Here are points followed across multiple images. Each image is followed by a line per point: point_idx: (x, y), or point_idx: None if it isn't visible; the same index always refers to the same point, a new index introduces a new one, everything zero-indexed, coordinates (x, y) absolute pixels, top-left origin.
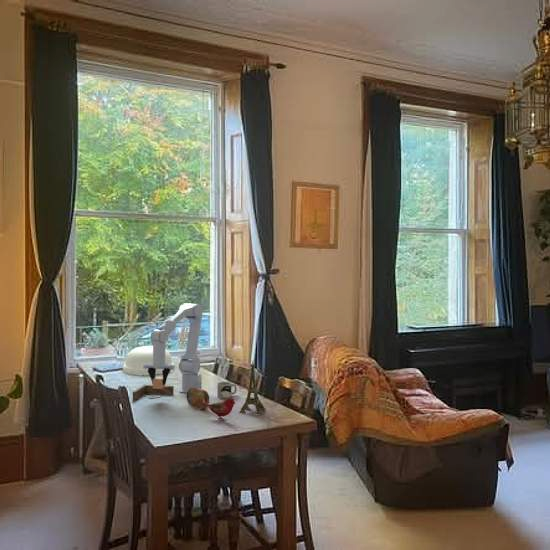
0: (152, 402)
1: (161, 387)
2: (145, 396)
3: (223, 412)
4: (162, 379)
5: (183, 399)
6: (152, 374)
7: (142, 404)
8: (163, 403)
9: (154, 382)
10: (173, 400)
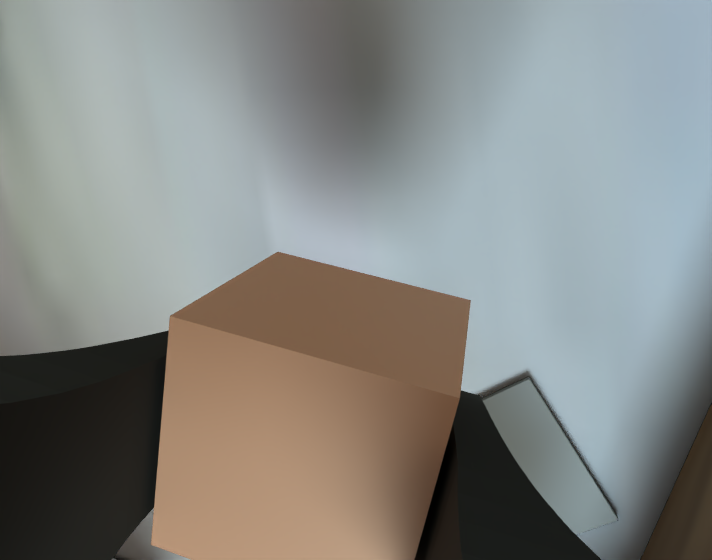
0: (474, 191)
1: (278, 262)
2: (601, 494)
3: None
4: (175, 345)
5: (116, 314)
6: (464, 523)
7: (625, 72)
8: (313, 131)
9: (415, 338)
10: (215, 278)
